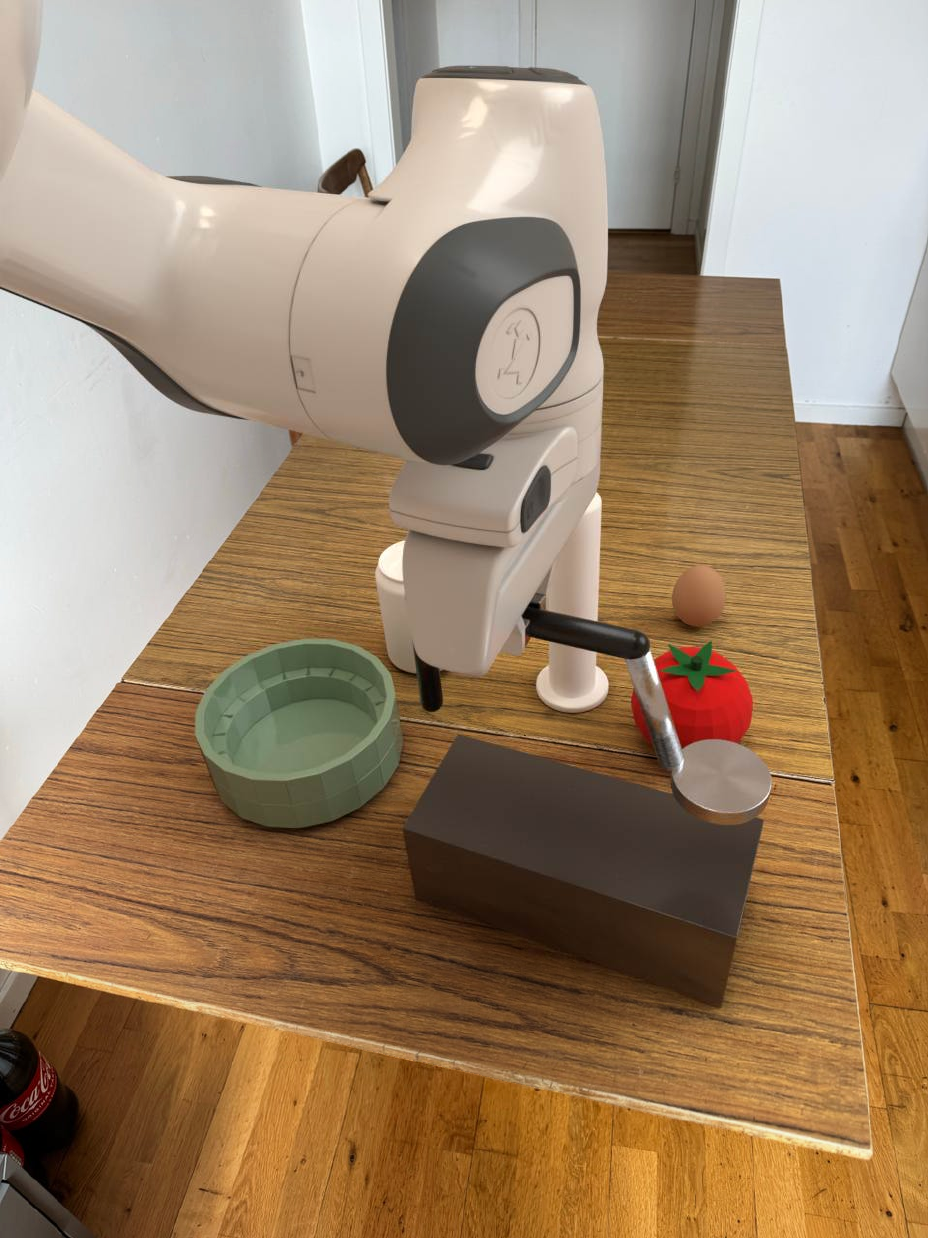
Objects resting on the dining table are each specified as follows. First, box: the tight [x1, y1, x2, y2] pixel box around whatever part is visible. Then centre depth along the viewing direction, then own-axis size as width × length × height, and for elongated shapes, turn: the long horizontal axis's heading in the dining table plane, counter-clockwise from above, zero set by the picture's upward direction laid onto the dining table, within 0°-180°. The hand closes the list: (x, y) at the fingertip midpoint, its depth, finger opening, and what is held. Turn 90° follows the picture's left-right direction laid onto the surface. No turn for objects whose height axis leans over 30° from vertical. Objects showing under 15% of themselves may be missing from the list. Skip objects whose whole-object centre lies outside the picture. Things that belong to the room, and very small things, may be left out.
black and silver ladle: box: [405, 599, 773, 825], centre depth 56 cm, size 24×6×11 cm, turn 66°
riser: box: [401, 733, 765, 1009], centre depth 67 cm, size 10×24×9 cm, turn 66°
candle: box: [535, 491, 610, 714], centre depth 80 cm, size 7×7×25 cm
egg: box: [671, 564, 727, 628], centre depth 92 cm, size 5×5×7 cm
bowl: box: [194, 638, 404, 829], centre depth 81 cm, size 18×18×7 cm
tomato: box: [630, 640, 754, 749], centre depth 78 cm, size 10×10×10 cm
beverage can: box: [374, 539, 444, 675], centre depth 90 cm, size 8×8×12 cm
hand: (522, 631), depth 55 cm, fingers closed on black and silver ladle
